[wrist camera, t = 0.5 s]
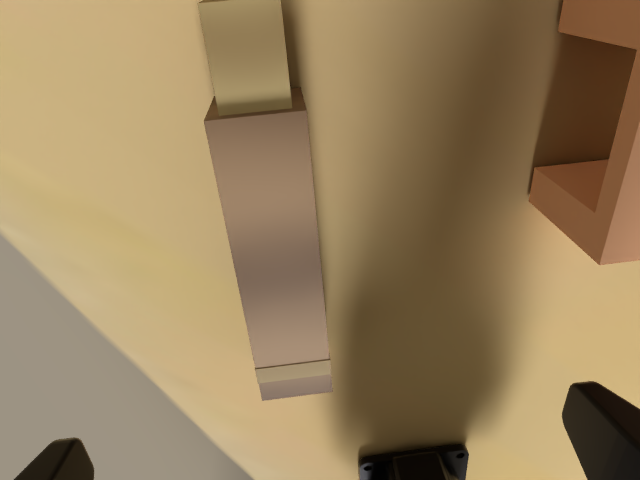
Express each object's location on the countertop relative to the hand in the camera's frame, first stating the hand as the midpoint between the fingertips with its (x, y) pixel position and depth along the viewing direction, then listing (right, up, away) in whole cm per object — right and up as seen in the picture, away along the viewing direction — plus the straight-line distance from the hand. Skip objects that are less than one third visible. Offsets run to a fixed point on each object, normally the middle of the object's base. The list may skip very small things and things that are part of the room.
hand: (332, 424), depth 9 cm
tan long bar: (-2, +5, +10) cm, 11 cm away
